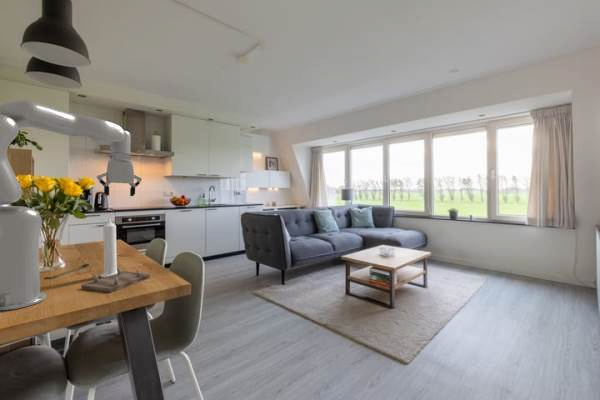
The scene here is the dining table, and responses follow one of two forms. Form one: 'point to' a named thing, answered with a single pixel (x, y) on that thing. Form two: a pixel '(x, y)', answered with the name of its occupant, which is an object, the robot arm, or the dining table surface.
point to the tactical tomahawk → (67, 272)
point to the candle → (109, 249)
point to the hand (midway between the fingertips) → (120, 195)
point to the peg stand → (115, 281)
